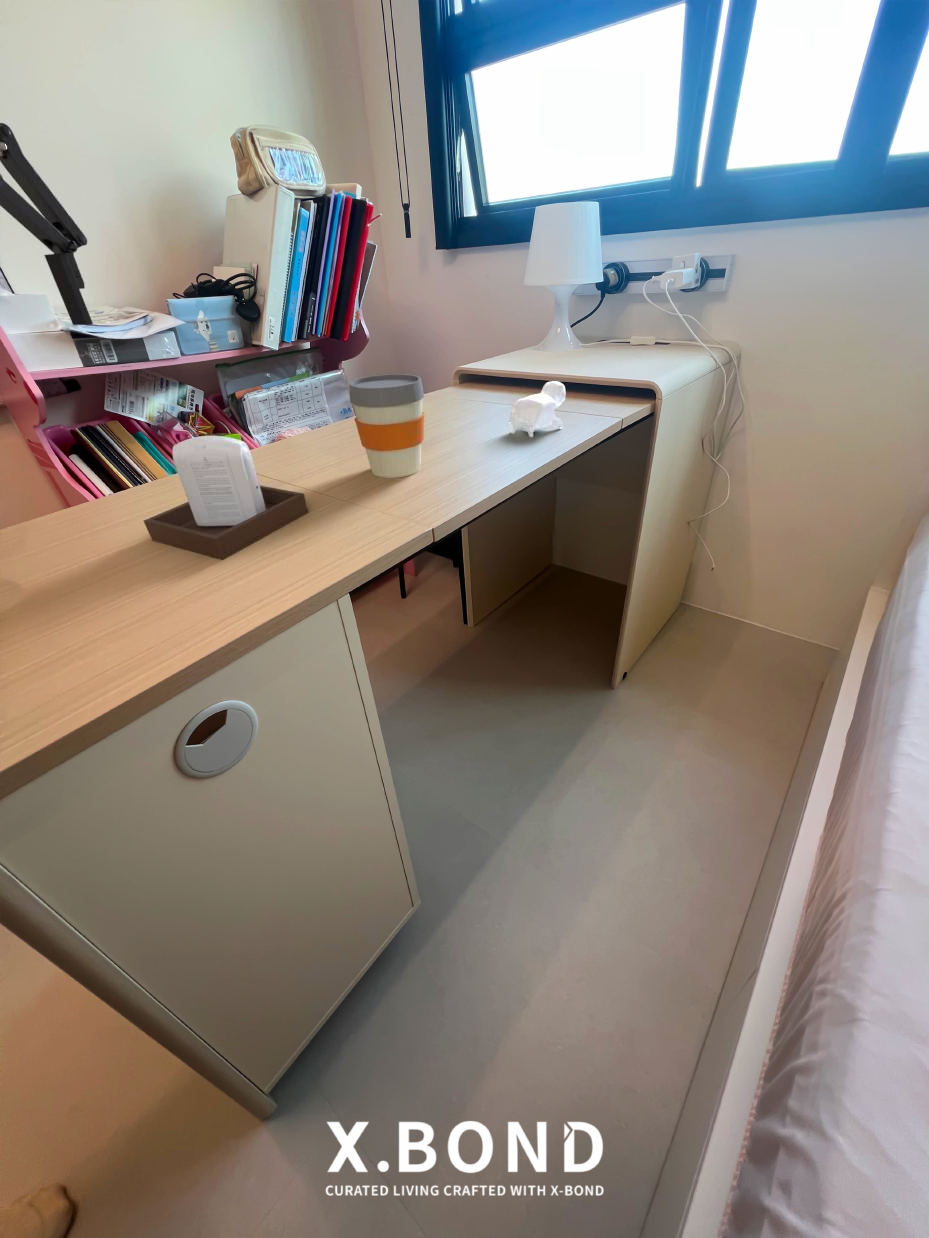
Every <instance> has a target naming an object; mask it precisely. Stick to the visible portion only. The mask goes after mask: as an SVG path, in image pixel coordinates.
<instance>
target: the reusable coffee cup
mask: <svg viewBox="0 0 929 1238" xmlns="http://www.w3.org/2000/svg"><path fill="white" fill-rule="evenodd" d="M348 388H349V389H348V391H349V400H350V401H349V402H350V403H351V404H352V407H353V410H354V413H355V418H354V422H355V426H356V429H357V433H358V437H359V440H360V443H361V446H362V448H364V450H365V452H366V456H367V460H368V463H369V467H370V470H371V473H372V475H374V476H376V477H379V478H384V479H385V478H386V479H396V478H397V479H398V478H403V477H408V476H412V475H415V474H417V473H418V472H419V471H420V470H421V462H422V461H421V459H422V443H423V442H424V440H425V439H424V437H425V435H424V434H425V412H424V411H423V399H424V398H425V392H424V388H423V382H422V377H421V376H419V375H415V374H407V373H388V374H375V375H369V376H363V377H359V378H355V379H354V380H350V382H349V383H348Z"/></svg>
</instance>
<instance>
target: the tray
mask: <svg viewBox="0 0 929 1238" xmlns="http://www.w3.org/2000/svg"><path fill="white" fill-rule="evenodd" d="M260 489H261V492H262V496H263V500H264V503H265V507H266V510H265V511H263V512H261V513H259V514H257V515H255V516H253V517H251V518H249V519H247V520H245V521H243V522H241V523H239V524H237V525H234V526H198V525H197V523H196V521H195V518H194V515H193V513H192V510H191V507H190V504H189V502H188V501H186V502H184V503H182V504H179V505H176V506H175V507H172V508H170V509H168V510H165V511H163V512H161V513H158V514H155V515H154V516H151V517H149V518H146V519H144V520H143V524H144V526H145V528H146V530H147V532H148V535H149V537H150V539H151V541H153V542H157V543H160V544H163V545H166V546H169V547H170V546H171V547H173V548H178V549H181V550H185V551H189V552H192V553H196V554H199V555H203V556H207V557H211V558H214V559H218V560H221V561H223V560H226V559H227V558H229V557H230V556H232V555H234V554H236V553H238V552H239V551H241V550H243V549H245V548H246V547H248V546H250V545H253V544H254V543H256V542H258V541H259V540H261V539H263V538H265V537H266V536H269V535H270V534H272V533H274V532H277V531H278V530H280V529H281V528H283V527H285V526H286V525H289V524H290V523H292V522H294V521H295V520H297V519H299V518H301V517H302V516H304V515H307V514H309V509H308V505H307V501H306V496H305V493H303V492H299V491H293V490H287V489H282V488H276V487H271V486H265V485H260Z"/></svg>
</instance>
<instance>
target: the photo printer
mask: <svg viewBox="0 0 929 1238" xmlns="http://www.w3.org/2000/svg"><path fill="white" fill-rule="evenodd" d="M171 452H172V453H171V454H172V460H173V463H174V466H175V469H176V471H177V474H178V477H179V479H180V482H181V486H182V489H183V490H184V491H183V492H184V494H185V496H186V499H187V502H189V504H190V507H191V510H192V513H193V515H194V518H195V521H196V523H197V525H198V526H234V525H237V524H239V523H241V522H243V521H245V520H247V519H249V518H251V517H253V516H255V515H257V514H259V513H261V512H263V511H265V510H266V507H265V503H264V500H263V496H262V492H261V489H260V486H261V485H260V483H259V482H260V481H259V478H258V475H257V471H256V468H255V464H254V461H253V456H252V453H251V451H250V447H249V446H248V444H247V443H246V442H245V441H243V440H240V439H237V438H233V437H229V436H221V435H201V436H195V437H191V438H188V439H185V440H183V441H180V442H178V443H176V444H174V445H173V446H172V450H171Z"/></svg>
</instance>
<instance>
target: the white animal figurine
mask: <svg viewBox="0 0 929 1238" xmlns="http://www.w3.org/2000/svg"><path fill="white" fill-rule="evenodd" d="M566 394H567V392H566V387H565V385H564V384H563V383H562V382H560V381H555V380H554V381H548V382H546V383H545V384H543V387H542V389H541V391H540V393H535V394H530V395H528V396H526V397H524V398H520V399H517V400H516V401H514V403H513V406H512V408H511V411H510V415H509V420H508V421H507V423H508V425H509V431H510V433H511V434H515V431H516V430H519V431H523V432H526V433H527V434H528V437H530V438H534V432H537V431H539V430H545V429H547V428H548V427H549V426H550V425H551V426H553V427H554V428H556V429H559V430H561V429H562V428H563V427H564V423H563V421H562V420H561V419H560V417H559V416H558V415H557V412H556V411H557V410H556V409H557V408H559V407H560V406H561V405H562V404H563V403H564V402H565V400H566ZM562 423H563V424H562ZM559 424H561V425H559ZM555 425H557V426H555ZM538 429H539V430H538Z"/></svg>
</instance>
